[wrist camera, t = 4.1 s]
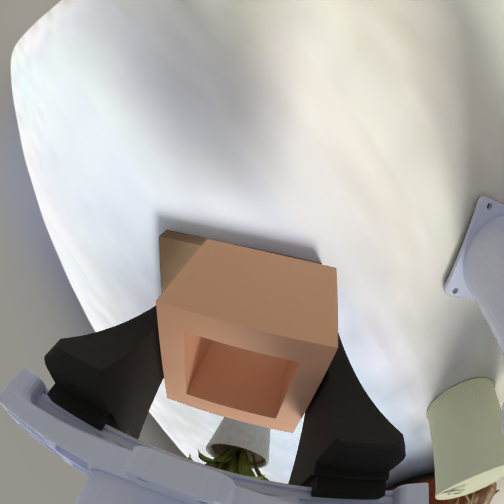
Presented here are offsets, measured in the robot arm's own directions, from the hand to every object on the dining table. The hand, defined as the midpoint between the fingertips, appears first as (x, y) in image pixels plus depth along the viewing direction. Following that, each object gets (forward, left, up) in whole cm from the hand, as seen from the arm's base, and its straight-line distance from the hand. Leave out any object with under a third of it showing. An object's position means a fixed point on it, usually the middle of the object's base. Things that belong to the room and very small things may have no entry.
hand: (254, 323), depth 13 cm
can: (-25, +15, -9) cm, 30 cm away
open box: (0, 0, -1) cm, 1 cm away
